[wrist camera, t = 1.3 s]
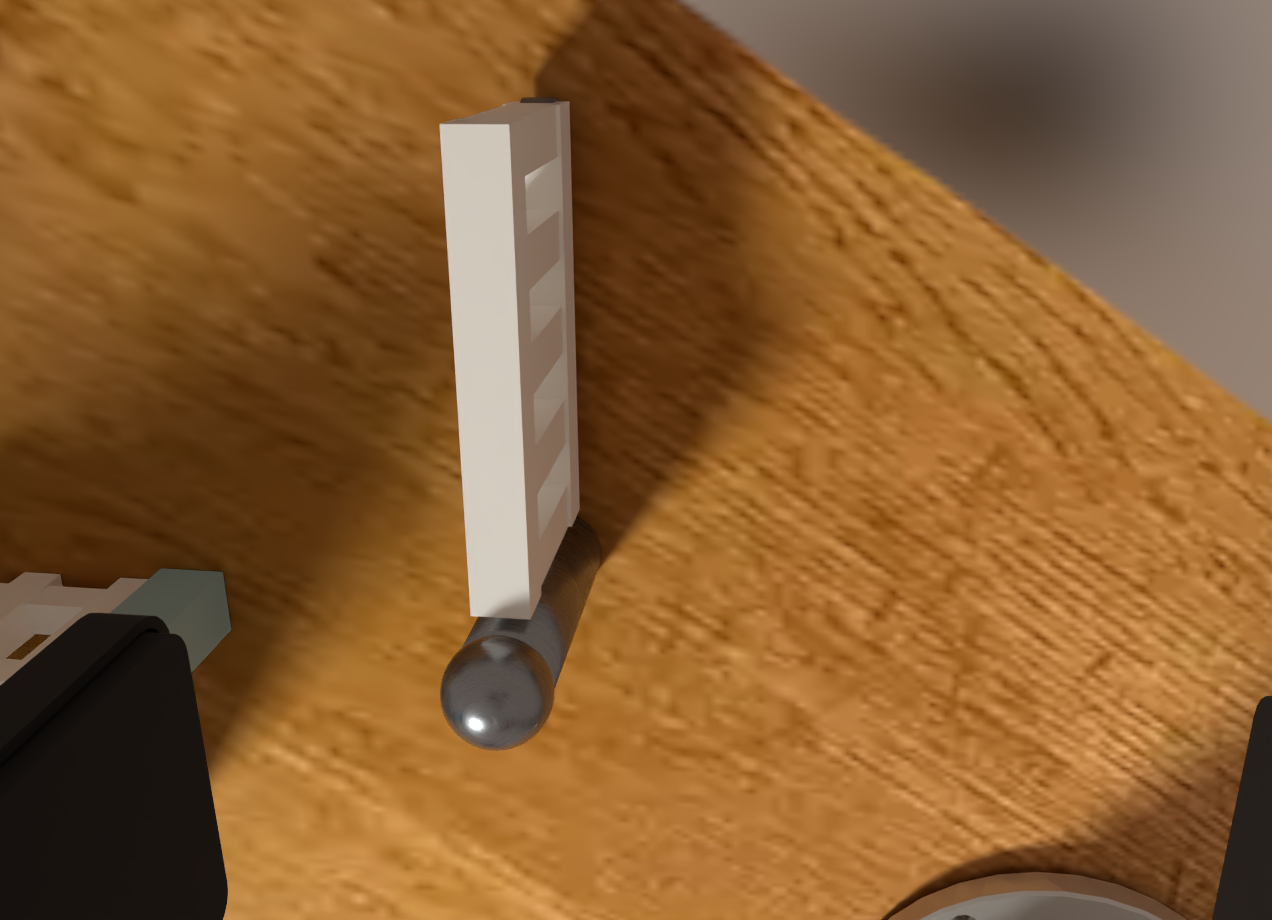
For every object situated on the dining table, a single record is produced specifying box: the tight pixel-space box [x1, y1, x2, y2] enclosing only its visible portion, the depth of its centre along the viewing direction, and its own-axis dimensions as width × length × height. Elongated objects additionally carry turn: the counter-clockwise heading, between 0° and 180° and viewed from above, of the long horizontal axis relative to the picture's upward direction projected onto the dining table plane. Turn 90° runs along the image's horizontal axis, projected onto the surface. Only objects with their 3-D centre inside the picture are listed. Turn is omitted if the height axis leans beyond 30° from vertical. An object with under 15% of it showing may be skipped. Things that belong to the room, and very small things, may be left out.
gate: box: [440, 98, 580, 620], centre depth 28 cm, size 11×1×7 cm, turn 0°
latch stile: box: [110, 568, 231, 673], centre depth 33 cm, size 2×2×7 cm
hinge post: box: [440, 517, 602, 751], centre depth 30 cm, size 3×3×9 cm
